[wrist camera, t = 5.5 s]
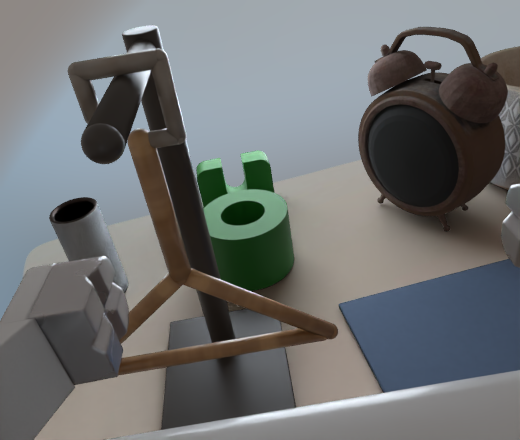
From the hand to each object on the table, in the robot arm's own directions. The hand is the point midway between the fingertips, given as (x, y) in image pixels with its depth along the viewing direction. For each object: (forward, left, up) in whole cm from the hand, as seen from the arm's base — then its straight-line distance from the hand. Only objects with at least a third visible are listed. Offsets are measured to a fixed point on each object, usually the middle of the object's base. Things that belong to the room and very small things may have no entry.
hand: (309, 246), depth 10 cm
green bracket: (+37, -2, -26) cm, 45 cm away
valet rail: (+16, +4, -26) cm, 31 cm away
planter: (+34, +14, -26) cm, 45 cm away
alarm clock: (+34, -22, -26) cm, 48 cm away
